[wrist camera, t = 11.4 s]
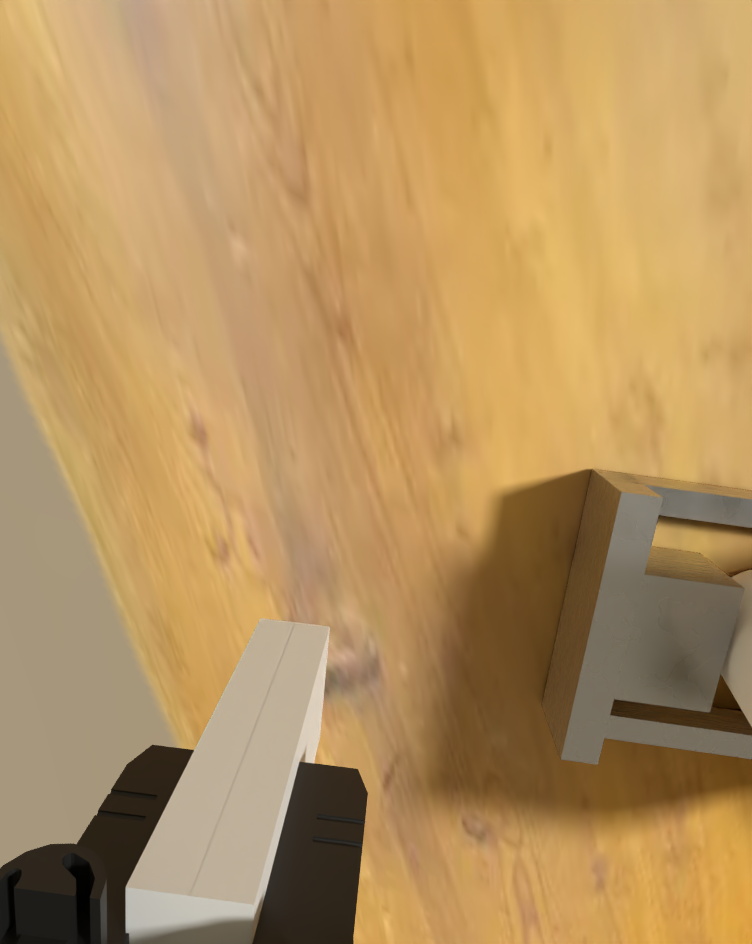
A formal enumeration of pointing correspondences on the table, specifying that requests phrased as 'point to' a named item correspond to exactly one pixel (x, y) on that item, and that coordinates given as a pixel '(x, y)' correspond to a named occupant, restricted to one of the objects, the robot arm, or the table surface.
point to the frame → (645, 625)
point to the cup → (741, 650)
